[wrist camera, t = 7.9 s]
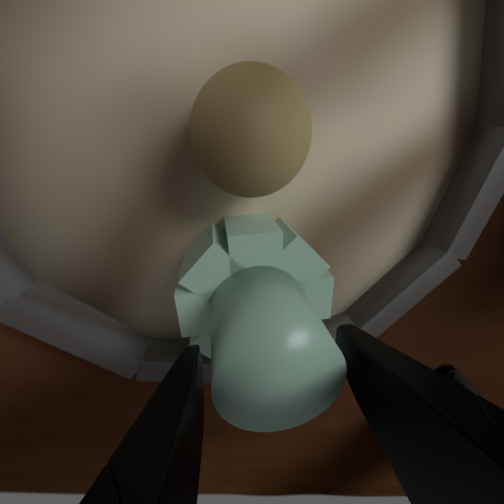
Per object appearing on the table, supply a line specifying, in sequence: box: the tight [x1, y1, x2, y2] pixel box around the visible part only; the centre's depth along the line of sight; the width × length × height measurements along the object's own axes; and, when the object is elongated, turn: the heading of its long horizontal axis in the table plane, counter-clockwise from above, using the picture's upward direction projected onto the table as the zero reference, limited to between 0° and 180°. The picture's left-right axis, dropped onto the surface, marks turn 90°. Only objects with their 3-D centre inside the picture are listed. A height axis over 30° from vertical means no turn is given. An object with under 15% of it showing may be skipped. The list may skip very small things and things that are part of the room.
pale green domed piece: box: [174, 213, 347, 432], centre depth 9 cm, size 6×6×6 cm
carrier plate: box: [0, 0, 504, 383], centre depth 9 cm, size 24×24×4 cm
